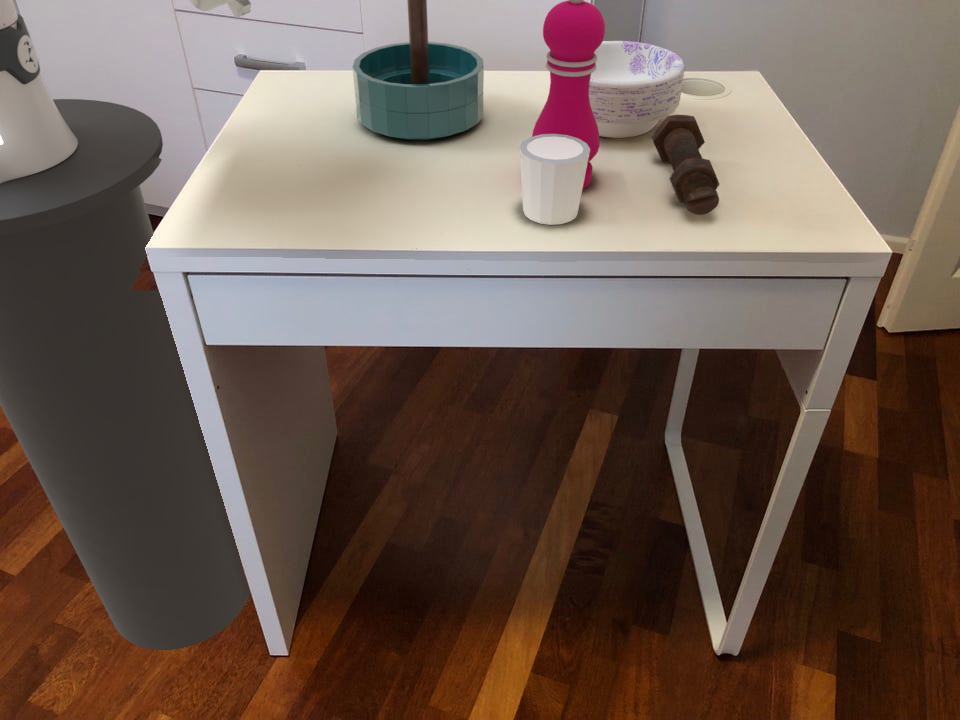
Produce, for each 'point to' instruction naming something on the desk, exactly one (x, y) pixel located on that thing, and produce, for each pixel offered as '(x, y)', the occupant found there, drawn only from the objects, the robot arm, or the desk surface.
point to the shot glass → (552, 177)
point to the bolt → (687, 163)
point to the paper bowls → (633, 87)
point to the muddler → (418, 41)
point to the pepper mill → (571, 73)
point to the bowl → (419, 91)
